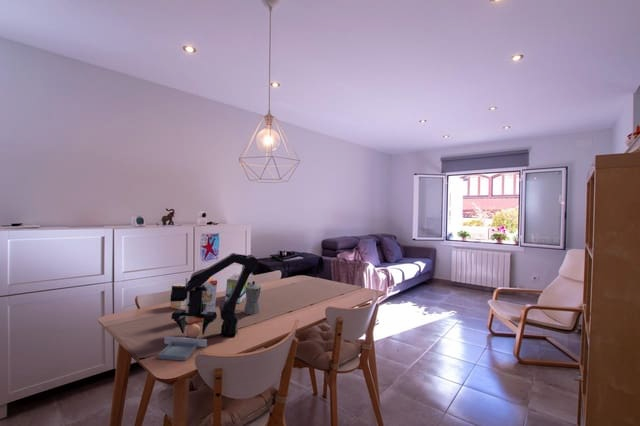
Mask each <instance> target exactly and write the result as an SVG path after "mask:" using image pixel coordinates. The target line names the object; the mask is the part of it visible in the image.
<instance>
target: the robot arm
mask: <svg viewBox="0 0 640 426" xmlns="http://www.w3.org/2000/svg"><path fill="white" fill-rule="evenodd" d="M233 264H238V265H242V267H241V271H240V276H239V278H238V280H237V282H236V284H235V286H234V288H233V290H232V292H231V294H230V297H229V298H228V299H227V300H226V301H225V299H223V300H222V303H221V305H220V306H219V314H220V318H221V319H222V324H221V330H220V337H228V338H235V337H236V335H237V334H238V332H239V331H238V322H239V319H238V316H237V314H236V312H235V311H236V307H237V303H236V302H237V300H238V298H239V296H240V294H241V292H242V290H243V288H244V285H245V283H246V281H247V279H248V280H249V277H250V276H251V274H252V273H253V272H254V271H255V270H256V268H257V267H258V265H259V261H258V259H257V258H256V256H254V255H253V254H247V255H245V254H239V253H235V252H232V253H230V254H228V255H227V256H225V257H224V258H222V259H221V260H219V261H217V262H216V263H214V264H212V265H210V266H209V267H206V268H203V269H200V270H197V271H195V272H192V273H191V275H190V278H189V280H187V281H188V283H187V282H186V283H185V285H186V286H172V285H171V288H172V293H170V302H175V301H184V300H186V299H187V295H188V292H189V303H188V304H187V306H188V313H187V312H186V310H185V309H176V310H174V311H173V312H172V313H171V320H173V321H174V322H176V324H177V326H178V327H179V329H180V331H181V334H184V333H185V331H186V330H185V328H186V327H185V325H186V323H185V322H186V321H185V318H186V317H194V318H204V321H202V329H201V332H202V333H201V334H202V336H204V335H205V333H206V330H207V328H208V326H209V324H211V323H212V322H214V321H215V320H216V319H217V316H218V315H217V312H216V311H215V312H209V311H208V312H207V313H206V314H201V312H204V311H205V310H206V305H207V304H203V301H202V296H203V291H207V287H205V286H204V285H203V286H201V285H202V284H204V283H205V282H206V281H207V280H208V279H209V278H211V277H213V276H215V275H216V274H218V273H219V272H221V271H223V270H224V269H226V268H228V267H230V266H231V265H233ZM200 286H201V287H200Z"/></svg>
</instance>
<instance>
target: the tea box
mask: <svg viewBox="0 0 640 426" xmlns="http://www.w3.org/2000/svg"><path fill="white" fill-rule="evenodd" d="M240 274H241V273H240ZM240 274H239V273H238V274H237V273H234V274H232V275H231V276H229V277H228V278H227V279H226V286H225V287H226V288H225V297H224V298H225V299H224V300H225V301H226V300H227V299H228V298H229V297H230V294H231V292H232V290H233V288H234V286H235V284H236V282H237V280H238V278H239V276H240ZM248 281H249V278H248V279H247V281H246V283H245V285H244V288H243V290H242V292H241V294H240V296H239V298H238V300H237V302H236V304H241V303H242V302H243V300H245V298H246V288H245V287H246V285H247V284H248Z"/></svg>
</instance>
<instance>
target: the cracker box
mask: <svg viewBox="0 0 640 426" xmlns="http://www.w3.org/2000/svg"><path fill="white" fill-rule="evenodd" d="M188 281H189V280H187V282H186V284H187V283H188ZM203 285H204V286H205V287H207V291H203V296H202V301H203V304H207V305H206V310H205V311H204V312H201V314H206V313H207V312H208V311H209V312H216V310H215V309H216V301H217V288H218V280H217V279H215V278H213V277H212V278H211V277H210V278H209V279H208V280H207V281H206V282H205V283H204V284H202V285H201V286H203ZM201 286H200V287H201ZM188 303H189V292H188V295H187V299H186V305H185V309H184V310H186V312H187V313H188V306H187V304H188ZM185 322H186V323H187V324H188V325H191V324H196V323H198V322H204V318H194V317H186V318H185Z"/></svg>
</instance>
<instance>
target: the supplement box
mask: <svg viewBox="0 0 640 426" xmlns="http://www.w3.org/2000/svg"><path fill="white" fill-rule="evenodd" d="M172 286H186V284H181V283H174V284H171V289H170V290H171V291H170V292H171V293H172ZM171 293H170V294H171ZM185 305H186V300H184V301H175V302H171V301H170V304H169V306H170V307H169V308H172V309H176V310H177V309H183V310H185Z"/></svg>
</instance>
